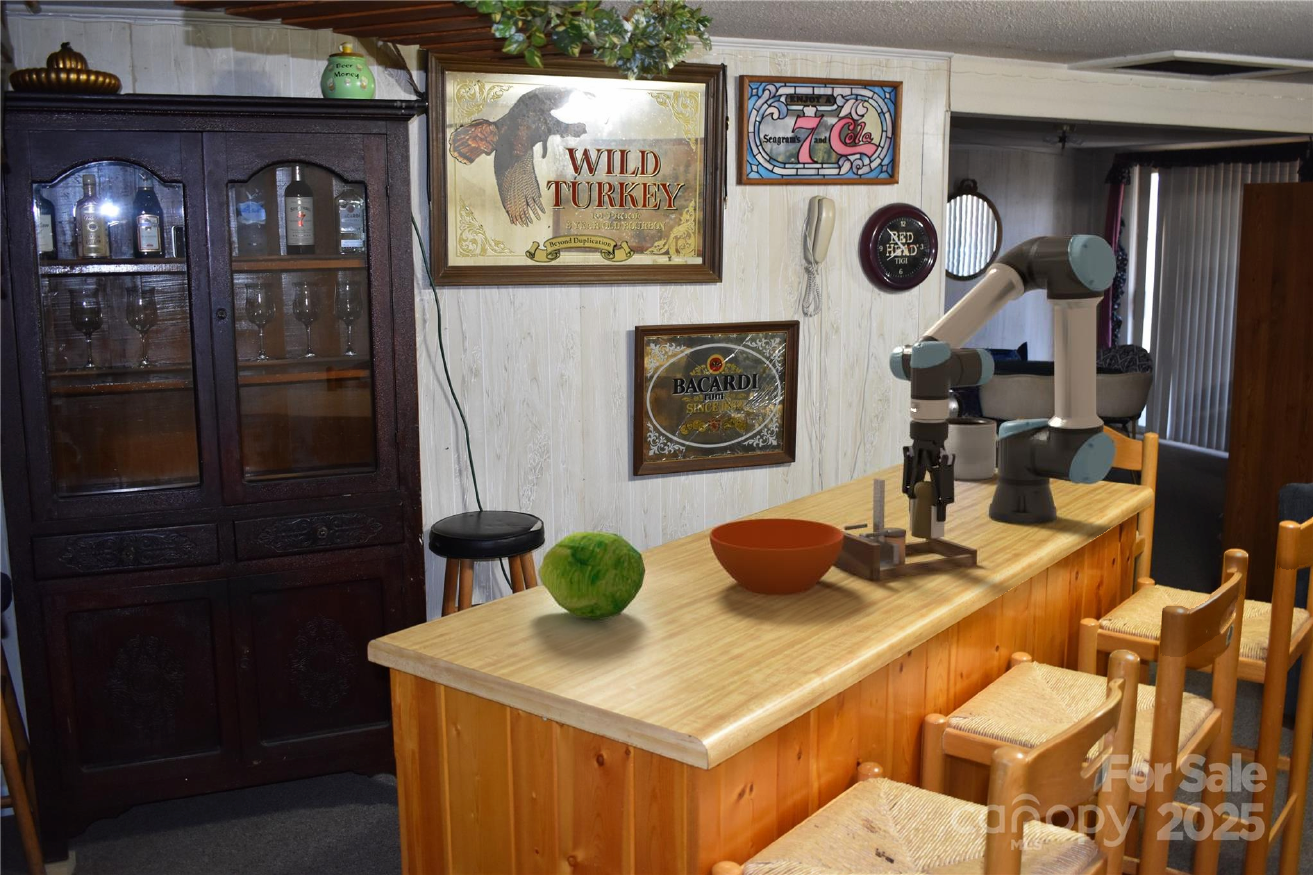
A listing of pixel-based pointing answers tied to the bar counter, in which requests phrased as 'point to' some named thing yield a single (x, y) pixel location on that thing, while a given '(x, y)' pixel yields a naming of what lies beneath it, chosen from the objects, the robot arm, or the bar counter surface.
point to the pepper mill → (923, 510)
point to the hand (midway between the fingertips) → (926, 533)
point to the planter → (972, 447)
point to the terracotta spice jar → (897, 541)
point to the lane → (866, 554)
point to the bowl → (776, 553)
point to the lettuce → (593, 574)
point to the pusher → (882, 527)
